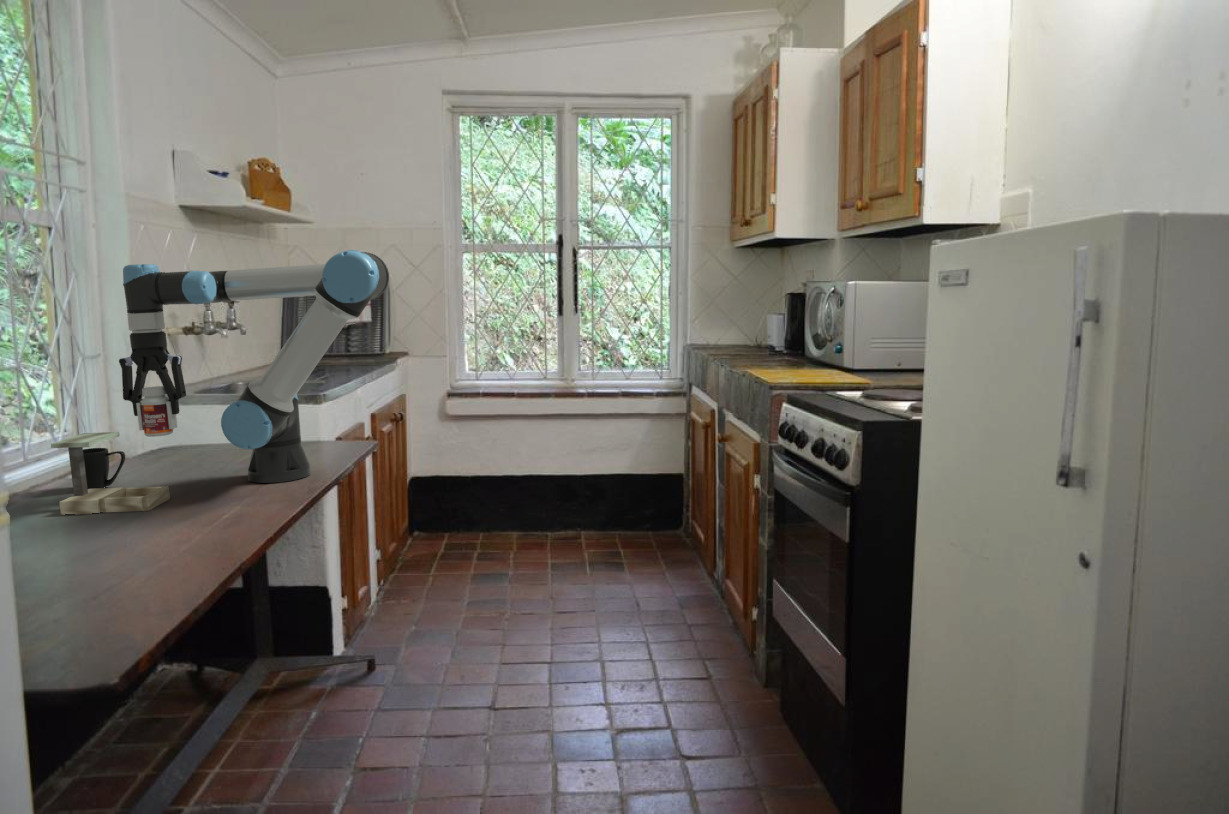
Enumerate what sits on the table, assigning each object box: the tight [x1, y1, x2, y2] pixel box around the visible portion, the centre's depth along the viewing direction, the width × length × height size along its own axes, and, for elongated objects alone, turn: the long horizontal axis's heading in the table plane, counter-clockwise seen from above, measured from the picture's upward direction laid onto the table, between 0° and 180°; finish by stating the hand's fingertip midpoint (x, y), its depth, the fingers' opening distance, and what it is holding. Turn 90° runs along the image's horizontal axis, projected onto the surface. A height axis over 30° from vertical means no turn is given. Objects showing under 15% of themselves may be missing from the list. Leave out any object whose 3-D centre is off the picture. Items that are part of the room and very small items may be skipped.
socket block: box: [50, 431, 171, 516], centre depth 199 cm, size 18×13×16 cm
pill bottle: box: [141, 385, 174, 438], centre depth 209 cm, size 6×6×11 cm
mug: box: [83, 447, 126, 489], centre depth 218 cm, size 8×12×10 cm
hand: (158, 428), depth 210 cm, fingers closed on pill bottle, 6 cm apart
